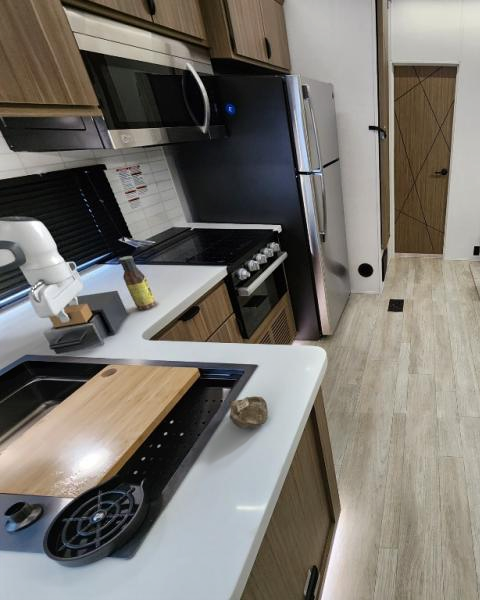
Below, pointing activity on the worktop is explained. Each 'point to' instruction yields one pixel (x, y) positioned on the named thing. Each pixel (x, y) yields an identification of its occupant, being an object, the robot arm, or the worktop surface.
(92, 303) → the gray drawer cabinet
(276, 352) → the worktop surface
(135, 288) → the sauce bottle
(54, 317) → the block
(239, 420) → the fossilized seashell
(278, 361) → the worktop surface
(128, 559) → the worktop surface
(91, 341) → the drawer
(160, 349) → the worktop surface
